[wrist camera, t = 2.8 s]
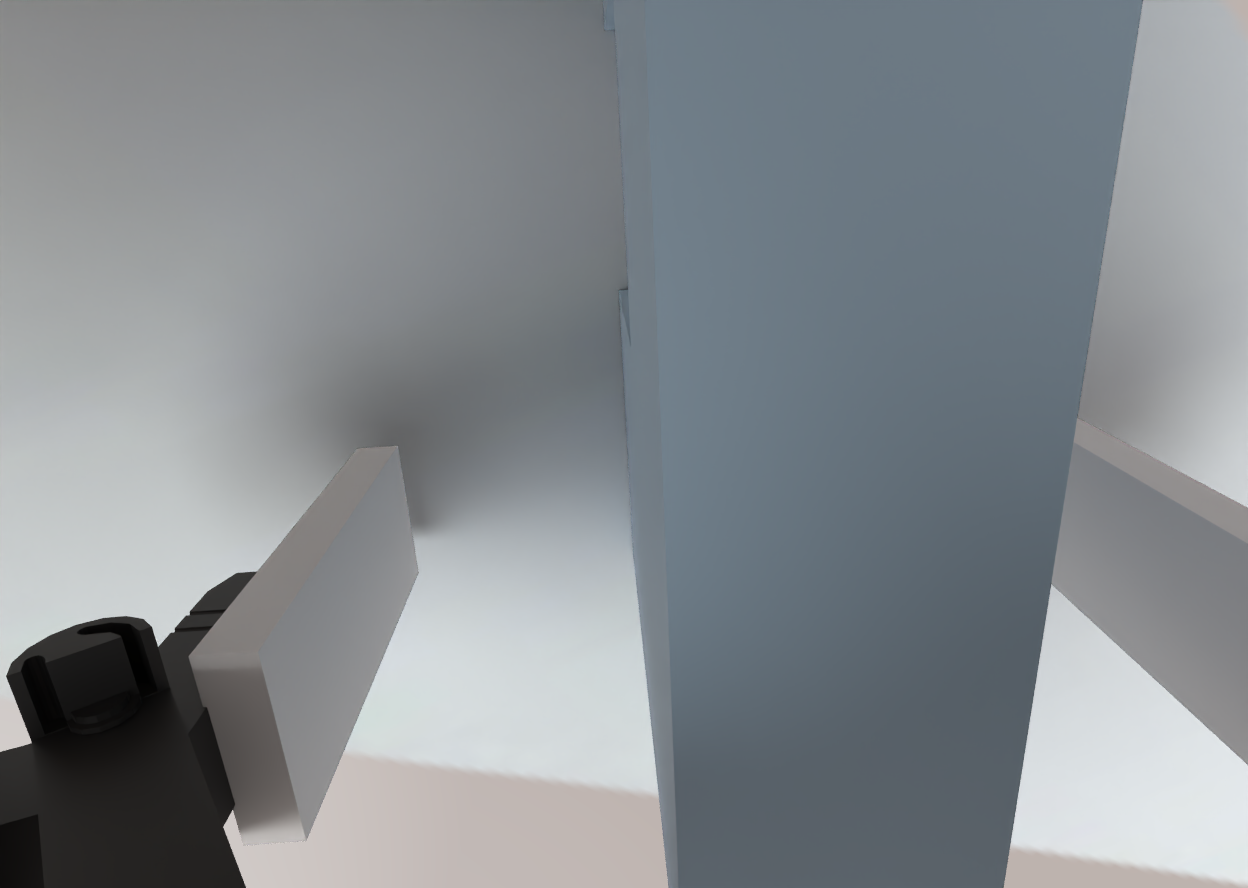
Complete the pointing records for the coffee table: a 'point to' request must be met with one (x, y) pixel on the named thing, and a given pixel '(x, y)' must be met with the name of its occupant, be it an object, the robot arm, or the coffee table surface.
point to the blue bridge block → (854, 411)
